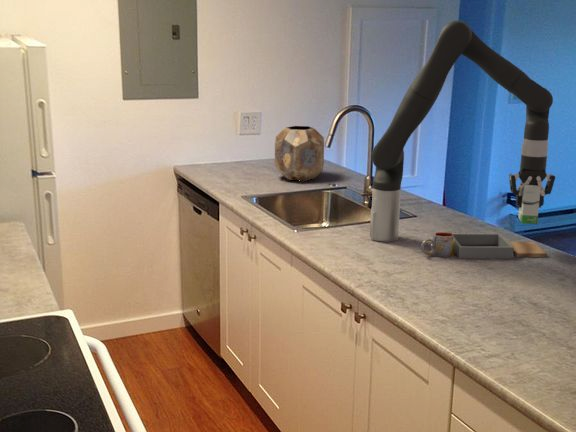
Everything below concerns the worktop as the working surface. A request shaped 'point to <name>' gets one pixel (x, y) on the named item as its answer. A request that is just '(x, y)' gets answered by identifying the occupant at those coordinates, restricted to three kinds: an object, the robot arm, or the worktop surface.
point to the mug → (440, 245)
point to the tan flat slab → (527, 249)
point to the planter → (299, 153)
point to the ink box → (530, 204)
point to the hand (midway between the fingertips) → (529, 206)
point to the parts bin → (482, 252)
